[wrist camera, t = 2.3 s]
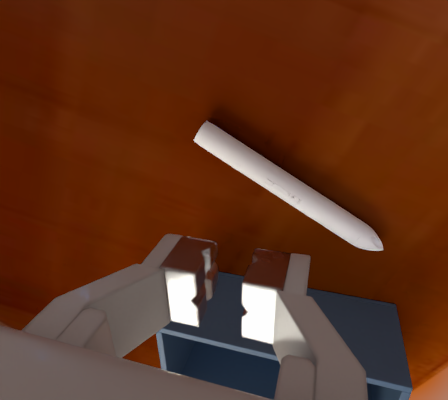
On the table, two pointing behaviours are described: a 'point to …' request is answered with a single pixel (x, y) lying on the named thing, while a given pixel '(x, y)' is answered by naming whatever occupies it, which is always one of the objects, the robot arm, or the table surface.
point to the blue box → (264, 353)
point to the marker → (287, 187)
